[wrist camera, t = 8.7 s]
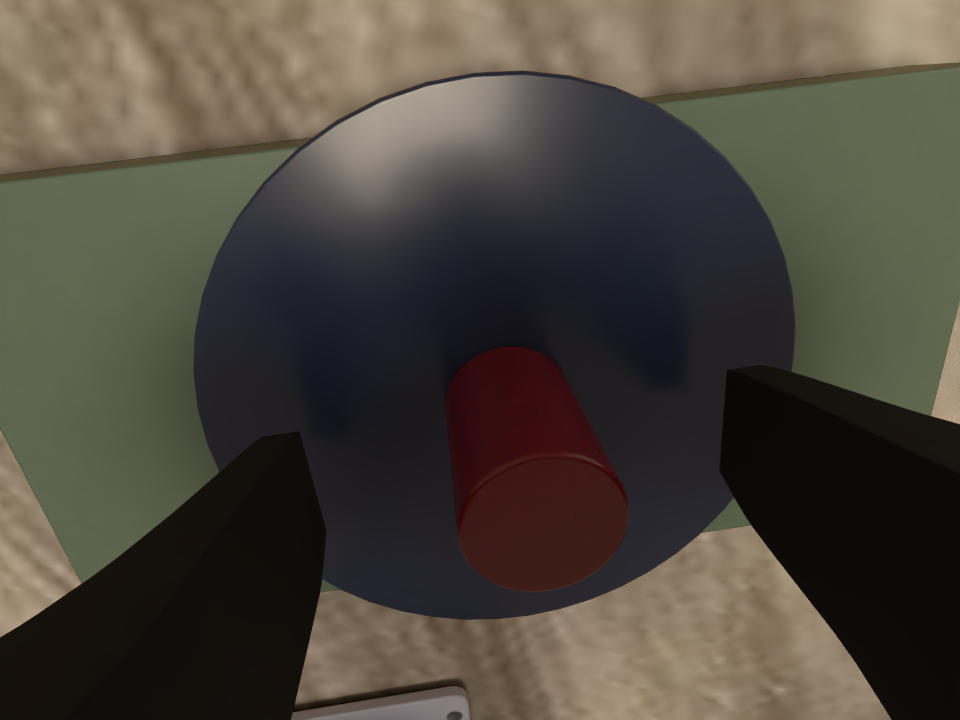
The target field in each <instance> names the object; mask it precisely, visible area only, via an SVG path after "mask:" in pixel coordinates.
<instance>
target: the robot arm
mask: <svg viewBox="0 0 960 720" xmlns="http://www.w3.org/2000/svg"><path fill="white" fill-rule="evenodd" d="M719 471H720V473H721V475H722V476H723V478H724V480H725V482H726V484H727V486H728V487H729V489H730V491H731V493H732V495H733V497H734V498H735V500H736V502H737V503H738V505H739V507H740V509H741V510H742V512H743V514H744V515H745V517H746V519H747V520H748V521H749V523H750V524H751V525H752V527H753V528H754V530H755V531H756V532H757V534H758V535H759V536H760V537H761V539H762V540H763V541H764V543H765V544H766V545H767V547H768V548H769V549H770V551H771V552H772V553H773V555H774V556H775V557H776V558H777V560H778V561H779V562H780V564H781V565H782V566H783V567H784V569H785V570H786V571H787V573H788V574H789V575H790V576H791V578H792V579H793V580H794V582H795V583H796V584H797V585H798V587H799V588H800V589H801V591H802V592H803V593H804V594H805V596H806V597H807V598H808V600H809V601H810V602H811V603H812V605H813V606H814V607H815V609H816V610H817V611H818V612H819V614H820V615H821V616H822V618H823V619H824V620H825V621H826V623H827V624H828V625H829V627H830V628H831V629H832V630H833V632H834V633H835V634H836V636H837V637H838V639H839V640H840V641H841V643H842V644H843V646H844V647H845V648H846V650H847V651H848V653H849V654H850V655H851V657H852V658H853V660H854V661H855V663H856V664H857V666H858V667H859V669H860V670H861V672H862V674H863V675H864V677H865V678H866V680H867V681H868V683H869V685H870V686H871V688H872V689H873V691H874V692H875V694H876V696H877V697H878V699H879V700H880V702H881V704H882V705H883V707H884V708H885V710H886V711H887V713H888V715H889V716H890V718H891V719H892V720H960V424H957V423H953V422H950V421H946V420H943V419H939V418H936V417H932V416H929V415H926V414H922V413H919V412H916V411H913V410H909V409H906V408H903V407H900V406H897V405H893V404H890V403H887V402H884V401H881V400H878V399H875V398H872V397H869V396H866V395H863V394H860V393H856V392H853V391H850V390H847V389H844V388H841V387H838V386H835V385H832V384H829V383H826V382H823V381H820V380H817V379H814V378H810V377H807V376H804V375H801V374H797V373H794V372H790V371H787V370H783V369H779V368H775V367H771V366H766V365H757V366H750V367H743V368H736V369H729V370H727V374H726V387H725V400H724V413H723V426H722V439H721V452H720V465H719ZM325 541H326V527H325V523H324V519H323V516H322V512H321V509H320V505H319V501H318V498H317V494H316V490H315V487H314V483H313V479H312V476H311V472H310V469H309V465H308V461H307V458H306V454H305V450H304V447H303V443H302V439H301V436H300V432H299V431H298V432H291V433H284V434H277V435H270V436H263V437H261V438H259V439H258V440H257V441H255V442H254V443H253V444H251V445H250V446H249V447H248V448H246V449H245V450H244V451H243V452H242V453H240V454H239V455H238V456H237V457H236V458H235V459H234V460H232V461H231V462H230V463H229V464H228V465H227V466H226V467H224V468H223V469H222V470H221V471H220V472H219V473H218V474H217V475H215V476H214V477H213V478H212V479H211V480H210V481H209V482H207V483H206V484H205V485H204V486H203V487H202V488H201V489H199V490H198V491H197V492H196V493H195V494H194V495H193V496H191V497H190V498H189V499H188V500H187V501H186V502H185V503H183V504H182V505H181V506H180V507H179V508H178V509H177V510H175V511H174V512H173V513H172V514H171V515H169V516H168V517H167V518H166V519H164V520H163V521H162V522H161V523H159V524H158V525H157V526H156V527H154V528H153V529H152V530H151V531H150V532H148V533H147V534H146V535H145V536H143V537H142V538H141V539H140V540H138V541H137V542H136V543H135V544H133V545H132V546H131V547H130V548H128V549H127V550H126V551H125V552H124V553H122V554H121V555H120V556H119V557H117V558H116V559H115V560H113V561H112V562H111V563H109V564H108V565H107V566H105V567H104V568H103V569H101V570H100V571H99V572H97V573H96V574H94V575H93V576H92V577H90V578H89V579H88V580H86V581H85V582H84V583H82V584H81V585H79V586H78V587H76V588H75V589H73V590H72V591H71V592H69V593H68V594H66V595H65V596H63V597H62V598H60V599H59V600H58V601H56V602H55V603H53V604H52V605H50V606H49V607H47V608H46V609H44V610H43V611H42V612H40V613H39V614H37V615H35V616H34V617H32V618H31V619H29V620H28V621H26V622H25V623H23V624H22V625H20V626H18V627H17V628H15V629H14V630H12V631H10V632H9V633H7V634H5V635H4V636H2V637H1V638H0V720H471V714H470V708H469V703H468V697H467V693H466V691H465V690H464V689H462V688H461V687H457V686H449V687H443V688H437V689H431V690H425V691H419V692H413V693H407V694H400V695H394V696H388V697H382V698H376V699H370V700H364V701H358V702H352V703H346V704H340V705H334V706H328V707H322V708H316V709H310V710H304V711H298V712H293V709H294V705H295V701H296V696H297V692H298V688H299V683H300V679H301V674H302V670H303V666H304V661H305V657H306V653H307V648H308V644H309V640H310V635H311V631H312V626H313V622H314V617H315V613H316V608H317V604H318V599H319V595H320V590H321V585H322V575H323V565H324V554H325Z"/></svg>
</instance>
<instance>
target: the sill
mask: <svg viewBox="0 0 960 720" xmlns="http://www.w3.org/2000/svg"><path fill="white" fill-rule="evenodd" d="M641 99H643V100H646V101H648V102H650V103H653V104H655V105H657V106H659V107H660V108H662V109H664V110H665V111H667V112H668V113H670V114H671V115H673V116H675V117H676V118H678V119H679V120H681V121H683V122H684V123H686V124H687V125H689V126H691V127H692V128H694V129H695V130H696V131H697V132H698V133H699V134H700V135H702V136H703V137H704V138H705V139H706V140H707V141H708V142H710V143H711V144H712V145H713V146H714V147H715V148H716V149H718V150H719V151H720V152H721V153H722V154H723V155H724V156H725V157H726V158H727V159H728V160H729V161H730V163H731V164H732V165H733V166H734V167H735V169H736V170H737V171H738V172H739V173H740V175H741V176H742V177H743V178H744V179H745V181H746V182H747V183H748V184H749V185H750V187H751V188H752V190H753V192H754V193H755V195H756V197H757V198H758V200H759V202H760V204H761V205H762V207H763V209H764V210H765V212H766V214H767V215H768V217H769V219H770V221H771V223H772V226H773V228H774V231H775V233H776V236H777V238H778V241H779V243H780V246H781V248H782V251H783V253H784V256H785V260H786V264H787V268H788V273H789V277H790V281H791V286H792V290H793V300H794V313H795V325H796V328H795V345H794V361H793V366H792V371H791V372H794V373H797V374H801V375H804V376H807V377H810V378H814V379H817V380H820V381H823V382H826V383H829V384H832V385H835V386H838V387H841V388H844V389H847V390H850V391H853V392H856V393H860V394H863V395H866V396H869V397H872V398H875V399H878V400H881V401H884V402H887V403H890V404H893V405H897V406H900V407H903V408H906V409H909V410H913V411H916V412H919V413H922V414H926V415H929V416H931V414H932V410H933V406H934V402H935V398H936V394H937V390H938V386H939V382H940V378H941V374H942V370H943V366H944V362H945V358H946V354H947V350H948V346H949V342H950V337H951V333H952V329H953V325H954V321H955V317H956V313H957V309H958V305H959V301H960V63H943V64H926V65H912V66H904V67H895V68H887V69H879V70H870V71H862V72H854V73H845V74H837V75H829V76H820V77H812V78H804V79H795V80H787V81H779V82H770V83H762V84H754V85H746V86H737V87H729V88H721V89H712V90H704V91H696V92H687V93H679V94H671V95H662V96H654V97H646V98H641ZM310 139H312V138H304V139H296V140H288V141H279V142H271V143H263V144H255V145H246V146H238V147H230V148H221V149H213V150H205V151H196V152H188V153H180V154H171V155H163V156H155V157H146V158H138V159H130V160H121V161H113V162H105V163H96V164H88V165H80V166H71V167H63V168H55V169H46V170H38V171H30V172H21V173H13V174H5V175H0V429H1V431H2V433H3V435H4V437H5V439H6V441H7V443H8V445H9V447H10V448H11V450H12V452H13V454H14V456H15V458H16V460H17V462H18V464H19V466H20V468H21V469H22V471H23V473H24V475H25V477H26V479H27V481H28V483H29V485H30V487H31V488H32V490H33V492H34V494H35V496H36V498H37V500H38V502H39V504H40V506H41V508H42V509H43V511H44V513H45V515H46V517H47V519H48V521H49V523H50V525H51V527H52V528H53V530H54V532H55V534H56V536H57V538H58V540H59V542H60V544H61V546H62V548H63V549H64V551H65V553H66V555H67V557H68V559H69V561H70V563H71V565H72V567H73V568H74V570H75V572H76V574H77V576H78V578H79V580H80V582H81V584H82V583H84V582H85V581H86V580H88V579H89V578H90V577H92V576H93V575H94V574H96V573H97V572H99V571H100V570H101V569H103V568H104V567H105V566H107V565H108V564H109V563H111V562H112V561H113V560H115V559H116V558H117V557H119V556H120V555H121V554H122V553H124V552H125V551H126V550H127V549H128V548H130V547H131V546H132V545H133V544H135V543H136V542H137V541H138V540H140V539H141V538H142V537H143V536H145V535H146V534H147V533H148V532H150V531H151V530H152V529H153V528H154V527H156V526H157V525H158V524H159V523H161V522H162V521H163V520H164V519H166V518H167V517H168V516H169V515H171V514H172V513H173V512H174V511H175V510H177V509H178V508H179V507H180V506H181V505H182V504H183V503H185V502H186V501H187V500H188V499H189V498H190V497H191V496H193V495H194V494H195V493H196V492H197V491H198V490H199V489H201V488H202V487H203V486H204V485H205V484H206V483H207V482H209V481H210V480H211V479H212V478H213V477H214V476H215V475H217V474H218V473H219V470H218V468H217V466H216V463H215V461H214V459H213V456H212V454H211V452H210V450H209V447H208V445H207V442H206V438H205V434H204V431H203V427H202V423H201V420H200V416H199V412H198V408H197V399H196V391H195V382H194V374H193V366H194V338H195V329H196V324H197V319H198V314H199V309H200V303H201V298H202V294H203V291H204V288H205V285H206V282H207V280H208V277H209V274H210V271H211V269H212V266H213V263H214V260H215V257H216V255H217V253H218V251H219V249H220V247H221V246H222V244H223V242H224V240H225V238H226V236H227V235H228V233H229V231H230V229H231V227H232V225H233V223H234V222H235V220H236V218H237V216H238V215H239V214H240V212H241V211H242V210H243V208H244V207H245V206H246V205H247V203H248V202H249V201H250V199H251V198H252V197H253V195H254V194H255V193H256V191H257V190H258V189H259V187H260V186H261V185H262V183H263V182H264V181H265V180H266V179H267V178H268V177H269V176H270V175H271V174H272V173H273V172H274V171H275V170H276V169H277V168H278V167H279V166H280V165H281V164H282V163H283V162H284V161H285V160H286V159H287V158H289V157H290V156H291V155H292V154H293V153H294V152H295V151H296V150H297V149H298V148H299V147H301V146H302V145H303V144H305V143H306V142H308V141H309V140H310ZM749 525H751V524H750V523H749V521H748V520H747V519H746V517H745V515H744V514H743V512H742V510H741V509H740V507H739V505H738V503H737V502H736V500H735V498H733V499H732V500H731V502H730V503H729V504H728V505H727V507H726V508H725V509H724V510H723V511H722V512H721V513H720V514H719V515H718V516H717V517H716V518H715V519H714V520H713V521H712V522H711V523H710V524H709V525H708V526H707V527H706V528H705V529H704V530H703V531H702V532H701V533H704V532H710V531H717V530H723V529H729V528H736V527H742V526H749ZM332 590H339V589H338V588H337V587H335V586H333V585H331V584H329V583H328V582H326V581H324V580H322V585H321V590H320V592H326V591H332Z"/></svg>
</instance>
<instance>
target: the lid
mask: <svg viewBox="0 0 960 720" xmlns="http://www.w3.org/2000/svg"><path fill="white" fill-rule="evenodd" d="M795 328H796V325H795V313H794V300H793V290H792V286H791V281H790V277H789V273H788V268H787V264H786V260H785V256H784V253H783V251H782V248H781V246H780V243H779V241H778V238H777V236H776V233H775V231H774V228H773V226H772V223H771V221H770V219H769V217H768V215H767V214H766V212H765V210H764V209H763V207H762V205H761V204H760V202H759V200H758V198H757V197H756V195H755V193H754V192H753V190H752V188H751V187H750V185H749V184H748V183H747V182H746V181H745V179H744V178H743V177H742V176H741V175H740V173H739V172H738V171H737V170H736V169H735V167H734V166H733V165H732V164H731V163H730V161H729V160H728V159H727V158H726V157H725V156H724V155H723V154H722V153H721V152H720V151H719V150H718V149H716V148H715V147H714V146H713V145H712V144H711V143H710V142H708V141H707V140H706V139H705V138H704V137H703V136H702V135H700V134H699V133H698V132H697V131H696V130H695V129H694V128H692V127H691V126H689V125H687V124H686V123H684V122H683V121H681V120H679V119H678V118H676V117H675V116H673V115H671V114H670V113H668V112H667V111H665V110H664V109H662V108H660V107H659V106H657V105H655V104H653V103H650V102H648V101H646V100H643V99H641V98H639V97H636V96H634V95H632V94H630V93H627V92H625V91H623V90H620V89H618V88H616V87H612V86H608V85H604V84H600V83H596V82H593V81H589V80H585V79H581V78H577V77H573V76H568V75H559V74H549V73H540V72H530V71H506V72H483V73H471V74H466V75H461V76H455V77H450V78H445V79H440V80H434V81H429V82H425V83H422V84H419V85H416V86H413V87H410V88H408V89H405V90H402V91H399V92H396V93H393V94H390V95H387V96H385V97H382V98H379V99H377V100H375V101H373V102H371V103H369V104H368V105H366V106H364V107H362V108H360V109H358V110H356V111H354V112H352V113H350V114H348V115H346V116H344V117H342V118H341V119H339V120H337V121H335V122H334V123H332V124H331V125H330V126H328V127H327V128H326V129H324V130H323V131H321V132H320V133H319V134H317V135H316V136H314V137H313V138H312V139H310V140H309V141H308V142H306V143H305V144H303V145H302V146H301V147H299V148H298V149H297V150H296V151H295V152H294V153H293V154H292V155H291V156H290V157H289V158H287V159H286V160H285V161H284V162H283V163H282V164H281V165H280V166H279V167H278V168H277V169H276V170H275V171H274V172H273V173H272V174H271V175H270V176H269V177H268V178H267V179H266V180H265V181H264V182H263V183H262V185H261V186H260V187H259V189H258V190H257V191H256V193H255V194H254V195H253V197H252V198H251V199H250V201H249V202H248V203H247V205H246V206H245V207H244V208H243V210H242V211H241V212H240V214H239V215H238V216H237V218H236V220H235V222H234V223H233V225H232V227H231V229H230V231H229V233H228V235H227V236H226V238H225V240H224V242H223V244H222V246H221V247H220V249H219V251H218V253H217V255H216V257H215V260H214V263H213V266H212V269H211V271H210V274H209V277H208V280H207V282H206V285H205V288H204V291H203V294H202V298H201V303H200V309H199V314H198V319H197V324H196V329H195V338H194V366H193V374H194V382H195V391H196V399H197V408H198V412H199V416H200V420H201V423H202V427H203V431H204V434H205V438H206V442H207V445H208V447H209V450H210V452H211V454H212V456H213V459H214V461H215V463H216V466H217V468H218V470H219V472H220V471H221V470H222V469H223V468H224V467H226V466H227V465H228V464H229V463H230V462H231V461H232V460H234V459H235V458H236V457H237V456H238V455H239V454H240V453H242V452H243V451H244V450H245V449H246V448H248V447H249V446H250V445H251V444H253V443H254V442H255V441H257V440H258V439H259V438H261V437H263V436H270V435H277V434H284V433H291V432H298V431H299V432H300V436H301V439H302V443H303V447H304V450H305V454H306V458H307V461H308V465H309V469H310V472H311V476H312V479H313V483H314V487H315V490H316V494H317V498H318V501H319V505H320V509H321V512H322V516H323V519H324V523H325V527H326V541H325V554H324V565H323V575H322V580H324V581H326V582H328V583H329V584H331V585H333V586H335V587H337V588H338V589H340V590H343V591H345V592H347V593H350V594H352V595H355V596H357V597H359V598H362V599H364V600H367V601H369V602H372V603H375V604H379V605H382V606H385V607H389V608H392V609H396V610H399V611H403V612H409V613H414V614H419V615H425V616H430V617H439V618H451V619H463V620H473V619H502V618H511V617H520V616H529V615H534V614H538V613H543V612H548V611H553V610H557V609H561V608H565V607H568V606H571V605H574V604H578V603H581V602H584V601H587V600H590V599H593V598H595V597H598V596H600V595H602V594H605V593H607V592H610V591H612V590H614V589H617V588H619V587H621V586H623V585H625V584H627V583H629V582H631V581H633V580H634V579H636V578H638V577H640V576H642V575H644V574H646V573H648V572H649V571H651V570H652V569H654V568H655V567H657V566H658V565H660V564H661V563H663V562H664V561H666V560H667V559H669V558H670V557H672V556H673V555H675V554H676V553H677V552H679V551H680V550H681V549H682V548H683V547H685V546H686V545H687V544H688V543H690V542H691V541H692V540H693V539H694V538H696V537H697V536H698V535H699V534H700V533H701V532H702V531H703V530H704V529H705V528H706V527H707V526H708V525H709V524H710V523H711V522H712V521H713V520H714V519H715V518H716V517H717V516H718V515H719V514H720V513H721V512H722V511H723V510H724V509H725V508H726V507H727V505H728V504H729V503H730V502H731V500H732V499H733V498H734V497H733V495H732V493H731V491H730V489H729V487H728V486H727V484H726V482H725V480H724V478H723V476H722V475H721V473H720V471H719V465H720V452H721V439H722V426H723V413H724V400H725V387H726V374H727V370H729V369H736V368H743V367H750V366H757V365H766V366H771V367H775V368H779V369H783V370H787V371H790V372H791V371H792V366H793V361H794V345H795Z"/></svg>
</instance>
